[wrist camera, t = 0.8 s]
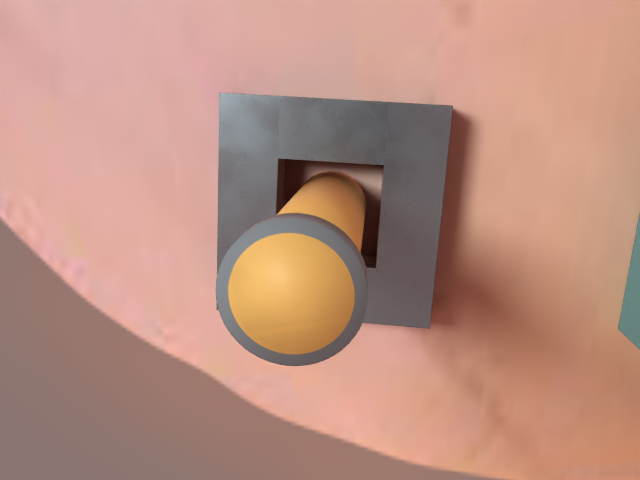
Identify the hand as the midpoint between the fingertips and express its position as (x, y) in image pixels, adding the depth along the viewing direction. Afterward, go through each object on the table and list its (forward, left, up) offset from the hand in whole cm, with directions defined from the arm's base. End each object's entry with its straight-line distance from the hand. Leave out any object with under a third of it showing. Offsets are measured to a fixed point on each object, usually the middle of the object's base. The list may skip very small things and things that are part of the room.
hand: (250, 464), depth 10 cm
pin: (0, -1, -25) cm, 25 cm away
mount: (0, -1, -24) cm, 25 cm away
